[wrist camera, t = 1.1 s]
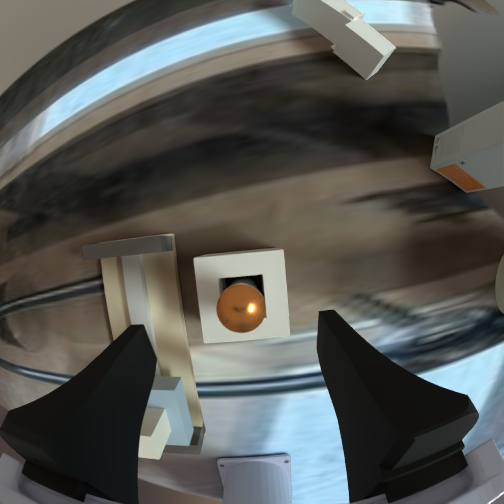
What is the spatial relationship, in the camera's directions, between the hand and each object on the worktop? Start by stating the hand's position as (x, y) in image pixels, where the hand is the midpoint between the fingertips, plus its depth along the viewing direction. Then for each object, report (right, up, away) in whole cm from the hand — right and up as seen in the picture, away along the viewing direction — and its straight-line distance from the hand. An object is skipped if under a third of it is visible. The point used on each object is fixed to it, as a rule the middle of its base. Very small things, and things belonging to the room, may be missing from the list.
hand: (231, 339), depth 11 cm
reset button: (0, +1, +10) cm, 10 cm away
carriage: (-8, -10, +11) cm, 17 cm away
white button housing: (0, +1, +13) cm, 13 cm away
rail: (-8, -5, +13) cm, 16 cm away
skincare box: (+22, +13, +13) cm, 29 cm away
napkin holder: (+10, +26, +13) cm, 30 cm away
